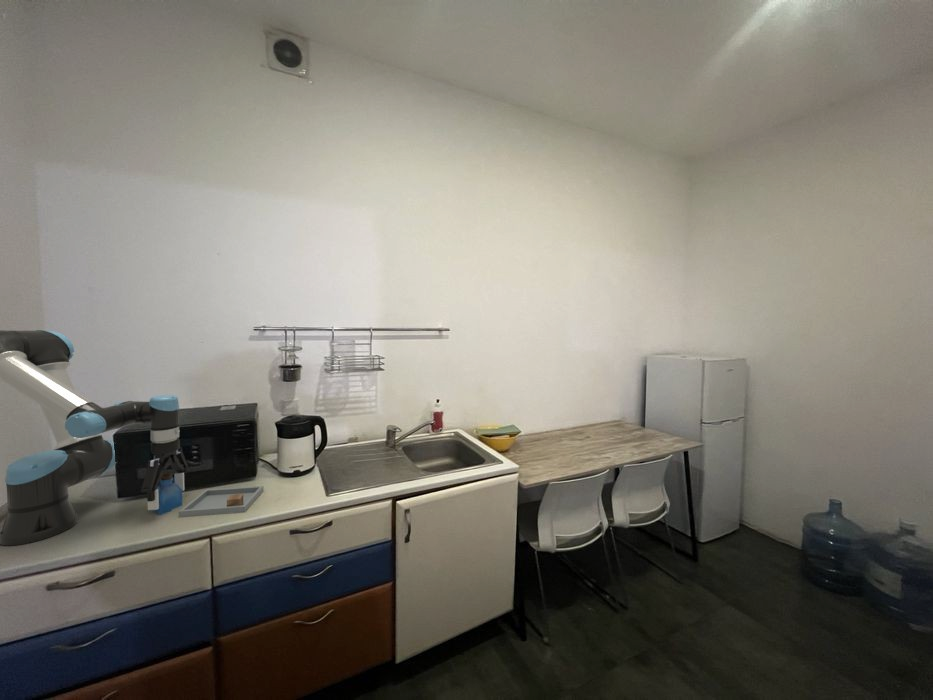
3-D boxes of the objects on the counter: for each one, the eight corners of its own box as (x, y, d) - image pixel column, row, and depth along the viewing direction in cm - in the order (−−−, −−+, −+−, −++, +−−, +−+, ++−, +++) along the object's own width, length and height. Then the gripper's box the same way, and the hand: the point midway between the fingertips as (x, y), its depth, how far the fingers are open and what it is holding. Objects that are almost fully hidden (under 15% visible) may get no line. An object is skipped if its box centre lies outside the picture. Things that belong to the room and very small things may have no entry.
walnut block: (226, 511, 117) (226, 500, 117) (230, 506, 121) (230, 495, 120) (240, 509, 118) (240, 498, 118) (243, 504, 122) (243, 493, 122)
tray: (178, 518, 113) (178, 511, 113) (205, 496, 129) (205, 489, 129) (244, 513, 117) (244, 506, 117) (263, 492, 133) (263, 485, 133)
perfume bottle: (152, 510, 118) (151, 476, 118) (174, 502, 124) (173, 470, 123) (160, 515, 115) (159, 480, 115) (182, 506, 121) (181, 473, 120)
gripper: (152, 451, 107) (154, 517, 108) (198, 429, 131) (200, 483, 132) (124, 453, 105) (126, 519, 106) (176, 430, 130) (178, 484, 131)
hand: (167, 499), depth 119 cm, fingers open, 13 cm apart
